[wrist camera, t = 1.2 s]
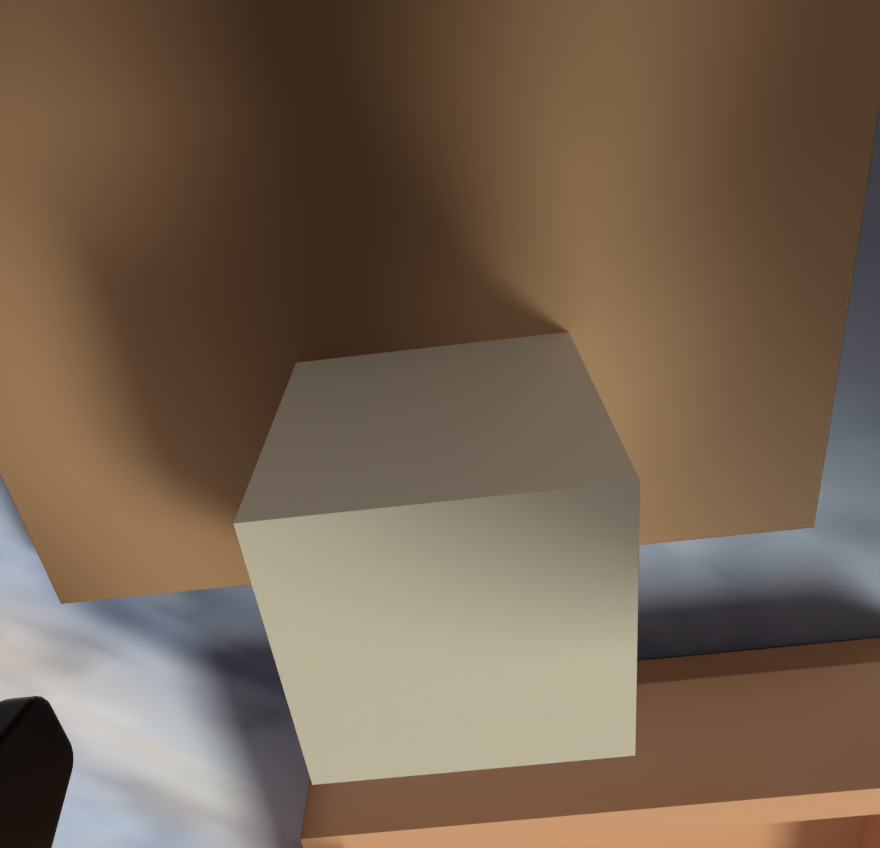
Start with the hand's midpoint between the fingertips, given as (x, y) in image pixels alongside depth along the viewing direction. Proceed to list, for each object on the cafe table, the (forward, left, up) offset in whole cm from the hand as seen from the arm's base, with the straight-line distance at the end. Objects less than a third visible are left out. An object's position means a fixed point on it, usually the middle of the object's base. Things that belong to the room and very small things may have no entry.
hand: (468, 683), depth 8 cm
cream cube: (0, 0, -4) cm, 4 cm away
